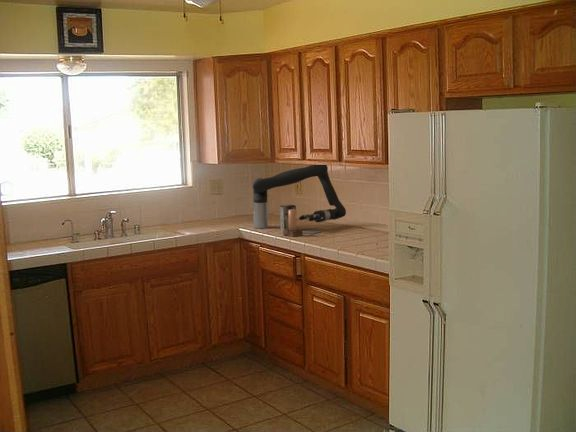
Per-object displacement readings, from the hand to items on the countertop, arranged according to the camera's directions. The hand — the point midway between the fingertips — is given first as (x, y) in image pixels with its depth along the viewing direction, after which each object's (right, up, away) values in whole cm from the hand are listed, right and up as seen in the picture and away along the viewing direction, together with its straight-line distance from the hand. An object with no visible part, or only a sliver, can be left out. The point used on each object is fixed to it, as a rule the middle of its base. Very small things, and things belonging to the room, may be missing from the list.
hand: (304, 218), depth 429 cm
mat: (+4, -9, +1) cm, 10 cm away
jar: (-7, -10, -6) cm, 14 cm away
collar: (-7, -10, -6) cm, 14 cm away
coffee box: (-10, -7, +16) cm, 20 cm away
